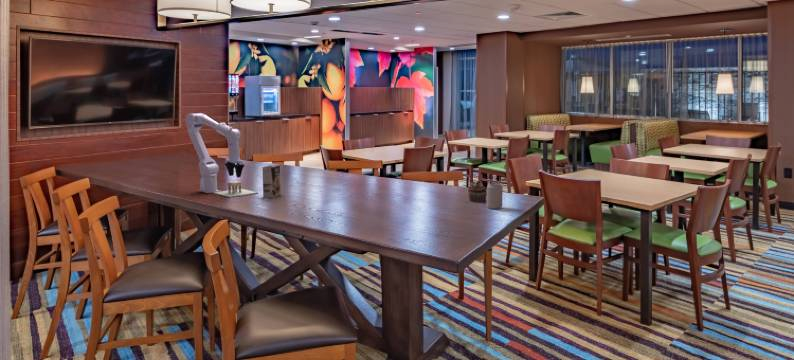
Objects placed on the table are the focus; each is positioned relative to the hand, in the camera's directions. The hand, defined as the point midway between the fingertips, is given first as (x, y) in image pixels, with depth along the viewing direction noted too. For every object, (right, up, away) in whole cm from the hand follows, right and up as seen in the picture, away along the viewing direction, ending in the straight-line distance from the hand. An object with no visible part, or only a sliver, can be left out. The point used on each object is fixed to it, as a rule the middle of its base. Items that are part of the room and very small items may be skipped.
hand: (235, 176), depth 304 cm
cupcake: (+129, -13, -18) cm, 131 cm away
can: (+135, -16, -35) cm, 140 cm away
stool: (0, -9, +1) cm, 9 cm away
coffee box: (+22, -11, -6) cm, 25 cm away
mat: (0, -9, +1) cm, 9 cm away
